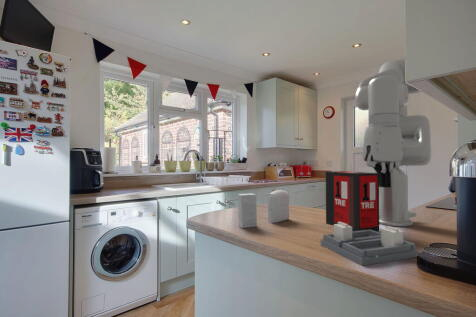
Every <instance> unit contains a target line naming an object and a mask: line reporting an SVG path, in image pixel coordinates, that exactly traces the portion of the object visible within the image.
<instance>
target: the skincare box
mask: <svg viewBox="0 0 476 317" xmlns="http://www.w3.org/2000/svg"><path fill="white" fill-rule="evenodd" d="M237 208H238V209H237V210H238V211H237V212H238V214H237V215H238V218H237V220H238V227H240V228H242V229H244V228H245V229H246V228H253V227H254V228H255V227H257V226H258V219H257V216H258V215H257V214H258V213H257V208H258V207H257V194H255V193H253V192H251V193H238V194H237Z"/></svg>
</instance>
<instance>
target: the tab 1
mask: <svg viewBox="0 0 476 317" xmlns="http://www.w3.org/2000/svg"><path fill="white" fill-rule="evenodd" d="M333 234H334V238H336V239H338V240H340V241H341V240H345V239H352V227H351V226H348V224H345V223H342V222H338V224H334V226H333Z"/></svg>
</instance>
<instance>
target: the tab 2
mask: <svg viewBox="0 0 476 317" xmlns="http://www.w3.org/2000/svg"><path fill="white" fill-rule="evenodd" d="M380 231H381V232H380V233H381V245H382V246H384V247H386V246H394V245H401V244H403V240H404V231H403V230H399V228H396V227H395V226H391V225H385V228H381V230H380Z"/></svg>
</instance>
